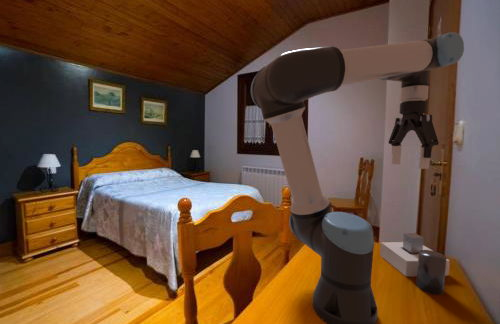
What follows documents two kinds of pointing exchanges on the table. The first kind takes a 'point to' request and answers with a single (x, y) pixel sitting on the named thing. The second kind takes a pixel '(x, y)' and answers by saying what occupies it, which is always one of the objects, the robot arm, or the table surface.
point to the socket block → (403, 258)
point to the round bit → (431, 272)
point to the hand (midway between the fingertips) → (408, 166)
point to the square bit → (412, 243)
